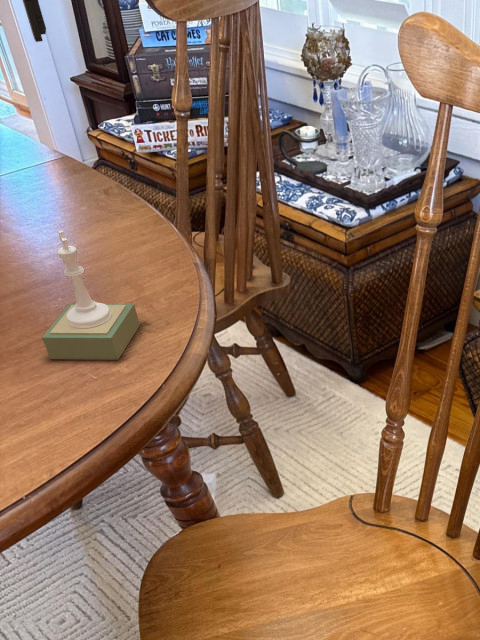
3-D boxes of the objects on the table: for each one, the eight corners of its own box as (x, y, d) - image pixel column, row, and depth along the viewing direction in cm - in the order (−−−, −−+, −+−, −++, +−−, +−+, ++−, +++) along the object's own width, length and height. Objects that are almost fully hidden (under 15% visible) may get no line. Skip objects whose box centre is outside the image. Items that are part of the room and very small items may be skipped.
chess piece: (74, 333, 87) (42, 245, 80) (62, 315, 90) (31, 229, 83) (117, 320, 89) (90, 233, 82) (104, 303, 92) (77, 218, 85)
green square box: (50, 359, 89) (41, 335, 87) (76, 324, 95) (68, 301, 93) (118, 360, 88) (110, 336, 86) (140, 325, 94) (133, 302, 92)
